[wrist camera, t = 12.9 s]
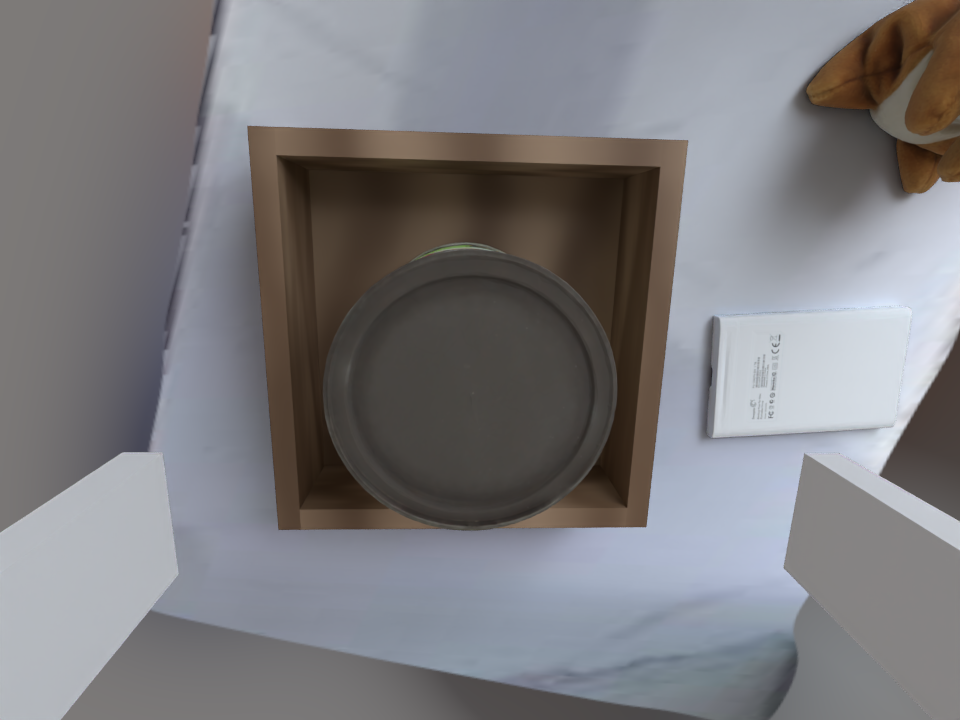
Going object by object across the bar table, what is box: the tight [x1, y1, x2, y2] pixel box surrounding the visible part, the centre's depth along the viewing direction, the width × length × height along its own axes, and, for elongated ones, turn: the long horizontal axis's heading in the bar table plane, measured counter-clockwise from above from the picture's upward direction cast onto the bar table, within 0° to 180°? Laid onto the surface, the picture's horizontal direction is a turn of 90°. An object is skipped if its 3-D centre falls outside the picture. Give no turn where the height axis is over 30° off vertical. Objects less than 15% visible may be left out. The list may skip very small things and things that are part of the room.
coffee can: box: [323, 242, 617, 530], centre depth 25 cm, size 10×10×14 cm
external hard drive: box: [706, 306, 912, 438], centre depth 34 cm, size 2×8×12 cm
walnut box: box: [247, 126, 688, 530], centre depth 29 cm, size 20×20×6 cm
